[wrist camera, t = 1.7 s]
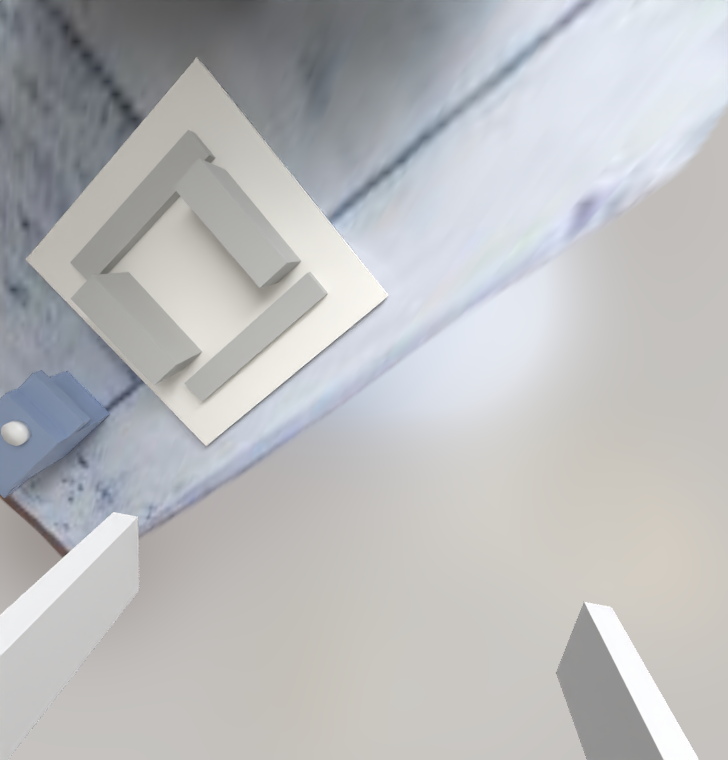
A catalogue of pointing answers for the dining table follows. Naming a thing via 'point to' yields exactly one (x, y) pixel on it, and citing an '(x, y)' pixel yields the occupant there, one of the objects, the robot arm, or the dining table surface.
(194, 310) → the slot plate
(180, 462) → the dining table surface
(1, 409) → the block
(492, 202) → the dining table surface
